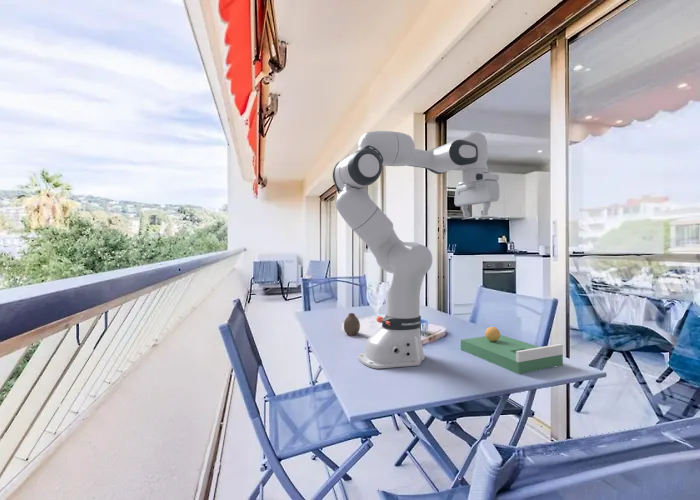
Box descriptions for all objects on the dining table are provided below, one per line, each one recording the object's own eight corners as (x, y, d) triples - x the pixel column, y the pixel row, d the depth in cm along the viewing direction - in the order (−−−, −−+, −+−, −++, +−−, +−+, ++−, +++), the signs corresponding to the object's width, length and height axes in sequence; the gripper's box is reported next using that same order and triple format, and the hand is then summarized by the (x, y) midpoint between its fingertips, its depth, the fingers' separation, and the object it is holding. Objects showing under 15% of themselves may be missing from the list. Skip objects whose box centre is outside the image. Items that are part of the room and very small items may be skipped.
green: (518, 374, 104) (518, 352, 104) (460, 349, 128) (460, 331, 128) (562, 365, 111) (562, 344, 111) (499, 343, 135) (499, 326, 135)
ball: (492, 343, 123) (492, 329, 123) (481, 340, 127) (481, 326, 127) (503, 342, 125) (503, 327, 125) (492, 338, 129) (492, 324, 129)
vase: (340, 334, 152) (340, 313, 152) (352, 331, 157) (352, 311, 157) (351, 337, 147) (351, 316, 147) (363, 334, 152) (363, 313, 151)
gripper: (450, 182, 139) (450, 218, 140) (488, 173, 120) (488, 214, 120) (463, 183, 141) (463, 218, 142) (502, 174, 122) (502, 214, 123)
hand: (475, 216), depth 131 cm, fingers open, 8 cm apart
